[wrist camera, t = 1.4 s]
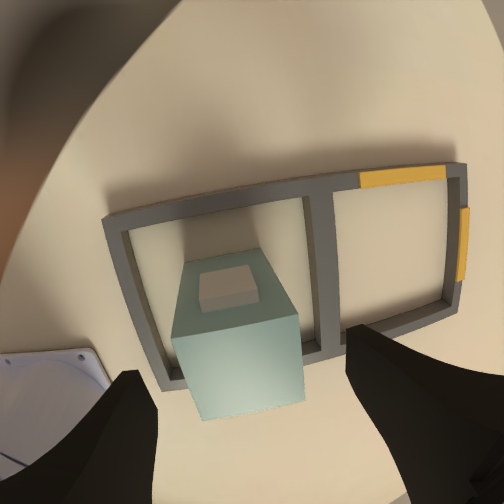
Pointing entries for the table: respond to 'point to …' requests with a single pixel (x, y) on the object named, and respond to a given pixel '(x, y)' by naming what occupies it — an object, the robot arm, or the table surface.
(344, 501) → the table surface
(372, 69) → the table surface
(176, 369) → the dock
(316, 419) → the table surface
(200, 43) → the table surface
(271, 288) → the pale teal rectangular block
